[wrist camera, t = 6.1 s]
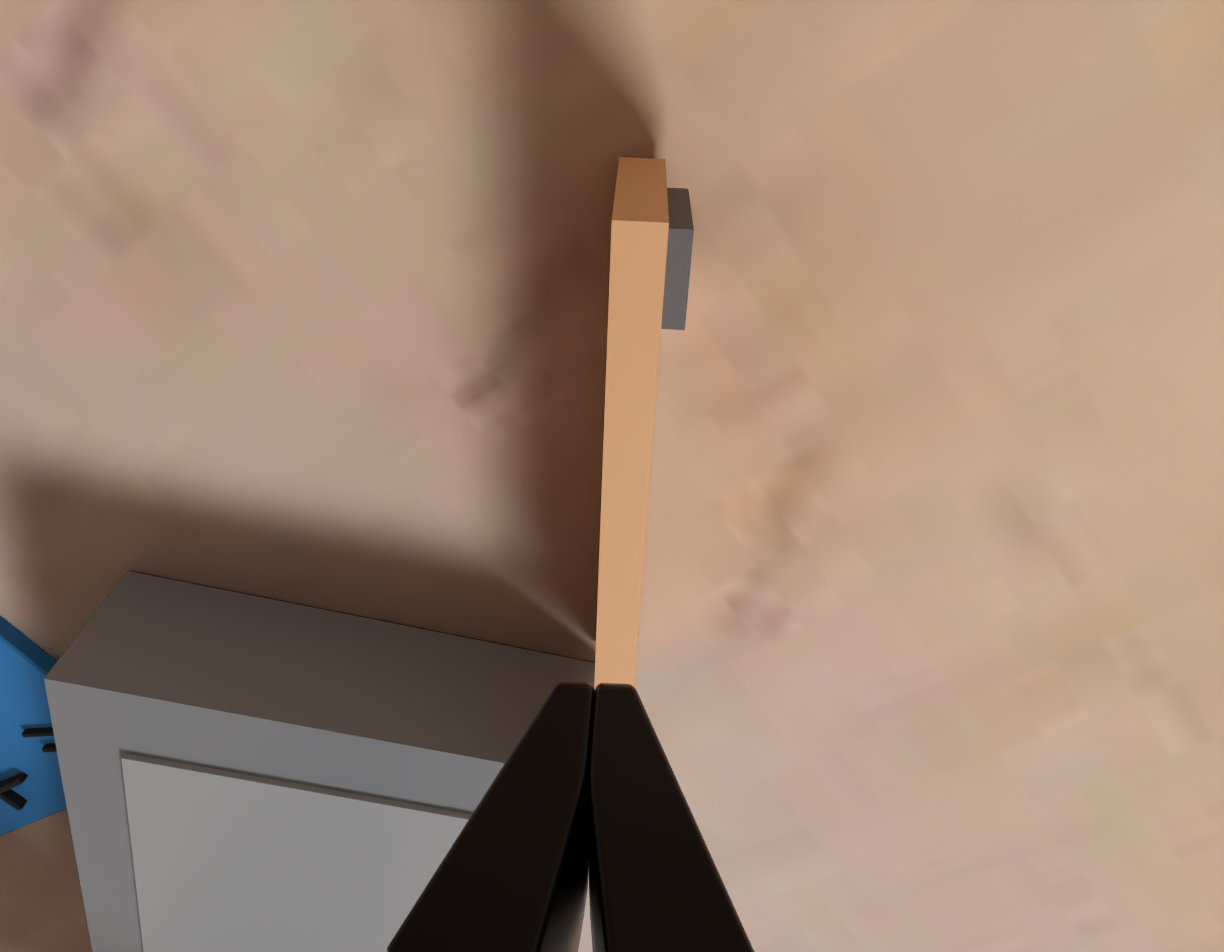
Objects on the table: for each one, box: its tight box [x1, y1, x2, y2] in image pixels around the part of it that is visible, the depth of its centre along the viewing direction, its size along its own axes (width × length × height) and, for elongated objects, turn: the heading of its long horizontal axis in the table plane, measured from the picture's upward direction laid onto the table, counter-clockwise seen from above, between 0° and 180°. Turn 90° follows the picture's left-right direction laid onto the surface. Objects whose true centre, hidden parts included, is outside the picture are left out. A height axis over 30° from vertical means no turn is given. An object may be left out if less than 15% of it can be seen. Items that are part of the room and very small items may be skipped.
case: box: [44, 571, 595, 952], centre depth 24 cm, size 16×12×4 cm
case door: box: [594, 157, 694, 689], centre depth 17 cm, size 1×12×4 cm, turn 178°
